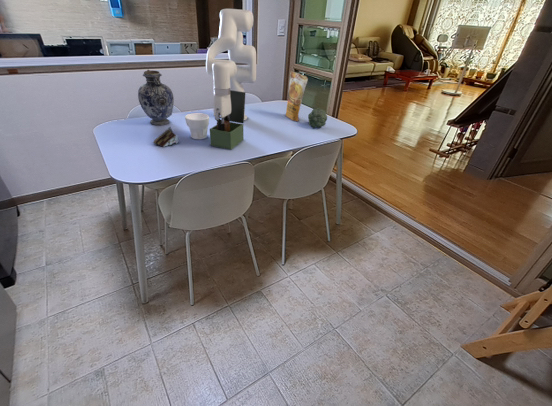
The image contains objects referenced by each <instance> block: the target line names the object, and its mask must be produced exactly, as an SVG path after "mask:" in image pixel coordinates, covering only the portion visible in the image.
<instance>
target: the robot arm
mask: <svg viewBox="0 0 552 406" xmlns="http://www.w3.org/2000/svg"><path fill="white" fill-rule="evenodd" d="M219 19H220V21H219V30H218V38H217V39H215V41H213V43H212V44H211V45H210V46H209V48H208V50H207V52H206V60H205V71H206V74H207V75H208V76H210V77H212V78H213V81H212V82H213V103H212V104H213V108H212V109H213V116H214V120H215V121H216V124H217V123H218V130H220V131H224V123H223V121H224V119H225V121H230V114H231V98H230V90H233V91H239V92H245V88H244V86H243V85H242V84H254V83H256V81H257V50H256V47H255V46H254V45H250V44H244V35H243V33H249V32H250V31H251V30H252V28H253V26H254V19H255V18H254V14H253V12H252V10H250V9H237V8H223V9H221V10H220V12H219ZM224 52H227V55H228V59H221V58H220V59H219V58H216V57H217V56H218V55H220V54H222V53H224ZM243 64H244V65H243ZM245 64H246V65H245ZM245 93H246V92H245ZM245 113H246V108H245V109H244V121H246V120H247V119H248V115H246V114H245ZM230 122H231V121H230Z"/></svg>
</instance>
